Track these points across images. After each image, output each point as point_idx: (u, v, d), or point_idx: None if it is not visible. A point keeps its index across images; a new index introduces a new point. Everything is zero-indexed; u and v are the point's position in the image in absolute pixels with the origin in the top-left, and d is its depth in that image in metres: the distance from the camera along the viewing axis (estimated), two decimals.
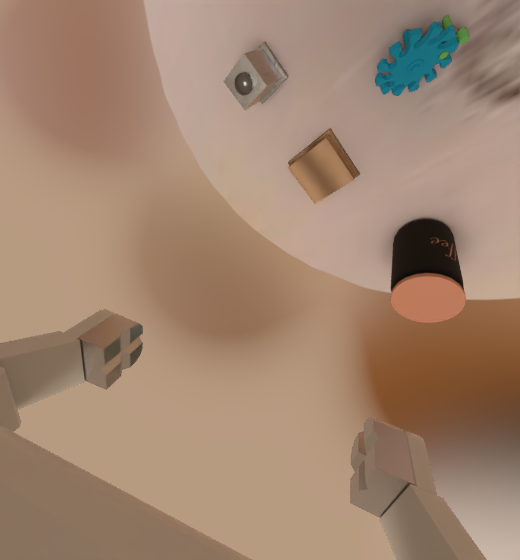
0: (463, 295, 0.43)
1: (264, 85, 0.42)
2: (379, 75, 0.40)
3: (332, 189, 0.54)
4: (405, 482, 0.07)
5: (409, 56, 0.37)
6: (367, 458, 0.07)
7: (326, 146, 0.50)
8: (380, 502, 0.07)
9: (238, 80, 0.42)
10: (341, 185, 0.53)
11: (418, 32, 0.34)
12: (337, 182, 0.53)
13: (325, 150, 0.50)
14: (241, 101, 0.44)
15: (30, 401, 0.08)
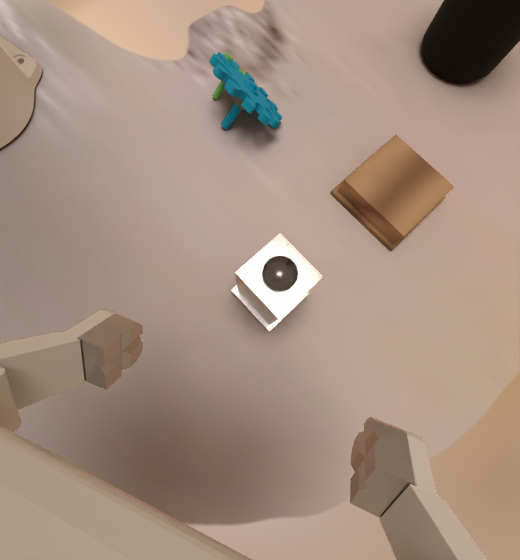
0: None
1: (280, 237, 0.23)
2: (259, 116, 0.31)
3: (420, 161, 0.32)
4: (405, 482, 0.07)
5: (240, 83, 0.30)
6: (367, 459, 0.07)
7: (355, 177, 0.32)
8: (380, 502, 0.07)
9: (274, 281, 0.22)
10: (410, 150, 0.33)
11: (216, 66, 0.29)
12: (406, 156, 0.33)
13: (362, 178, 0.32)
14: (308, 283, 0.23)
15: (29, 401, 0.08)
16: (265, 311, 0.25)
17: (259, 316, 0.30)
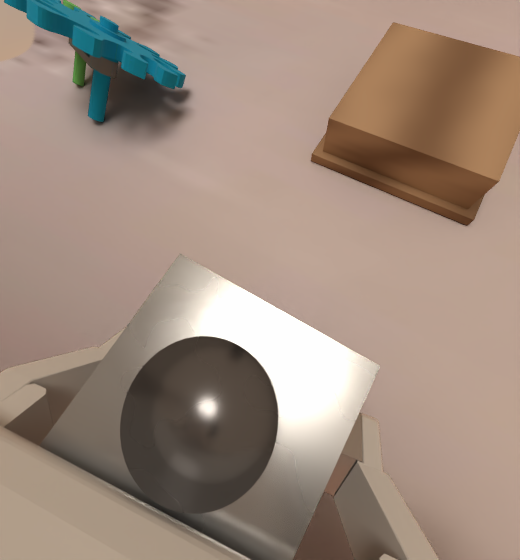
0: None
1: (181, 266, 0.07)
2: (122, 61, 0.16)
3: (458, 46, 0.17)
4: (355, 460, 0.07)
5: (73, 17, 0.16)
6: None
7: (349, 108, 0.16)
8: (333, 480, 0.08)
9: (181, 470, 0.05)
10: (430, 35, 0.17)
11: None
12: (429, 46, 0.17)
13: (363, 106, 0.16)
14: (334, 412, 0.05)
15: None
16: None
17: None
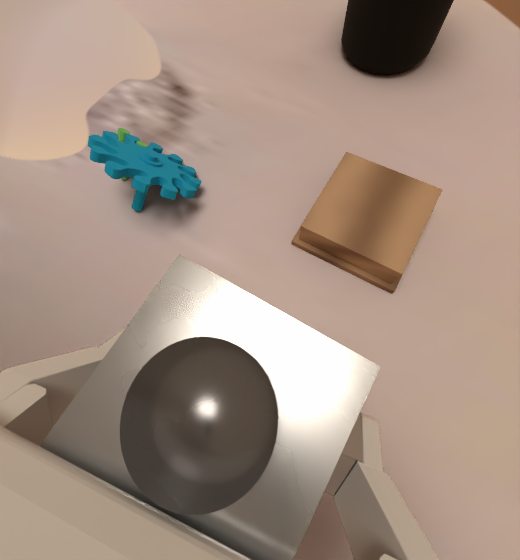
0: None
1: (181, 267, 0.07)
2: (161, 191, 0.24)
3: (387, 173, 0.25)
4: (355, 460, 0.07)
5: (130, 159, 0.24)
6: None
7: (314, 218, 0.24)
8: (333, 481, 0.08)
9: (181, 471, 0.05)
10: (370, 163, 0.26)
11: (91, 149, 0.23)
12: (368, 172, 0.25)
13: (323, 217, 0.24)
14: (334, 413, 0.05)
15: None
16: None
17: None
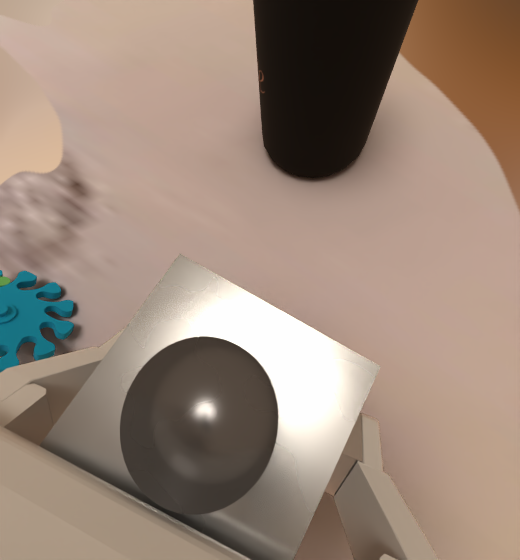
0: None
1: (181, 266, 0.07)
2: None
3: None
4: (355, 460, 0.07)
5: None
6: None
7: None
8: (333, 480, 0.08)
9: (181, 471, 0.05)
10: None
11: None
12: None
13: None
14: (334, 413, 0.05)
15: None
16: None
17: None
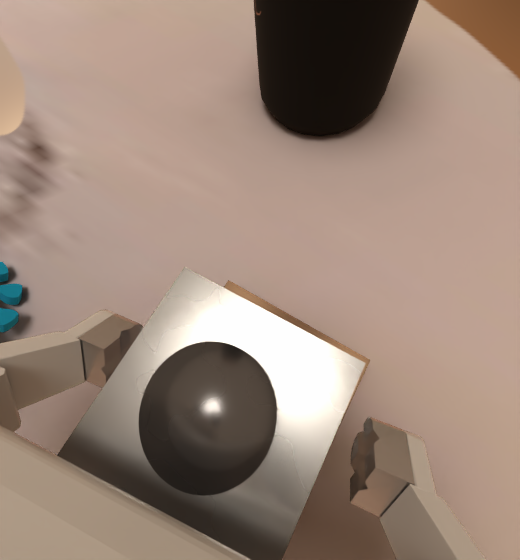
0: None
1: (186, 278, 0.07)
2: None
3: None
4: (405, 482, 0.07)
5: None
6: (367, 458, 0.07)
7: None
8: (380, 502, 0.07)
9: (193, 459, 0.05)
10: (261, 304, 0.16)
11: None
12: None
13: None
14: (326, 405, 0.06)
15: (30, 400, 0.08)
16: None
17: None
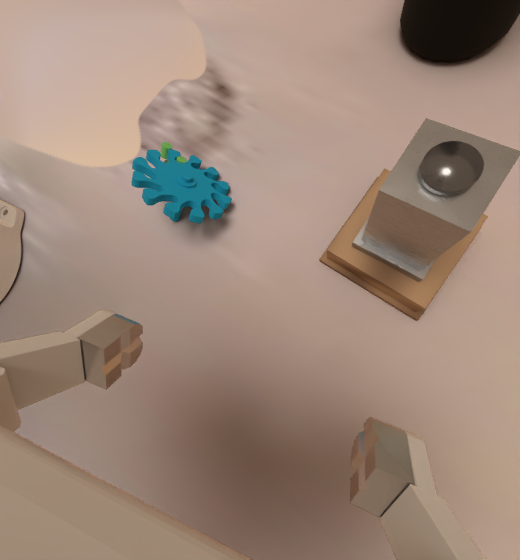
0: None
1: (427, 123, 0.16)
2: (189, 216, 0.27)
3: None
4: (405, 482, 0.07)
5: (166, 183, 0.27)
6: (367, 459, 0.07)
7: (341, 243, 0.25)
8: (380, 502, 0.07)
9: (448, 179, 0.14)
10: None
11: (133, 175, 0.26)
12: None
13: (350, 242, 0.24)
14: (501, 168, 0.14)
15: (29, 400, 0.08)
16: (428, 240, 0.17)
17: (402, 264, 0.22)
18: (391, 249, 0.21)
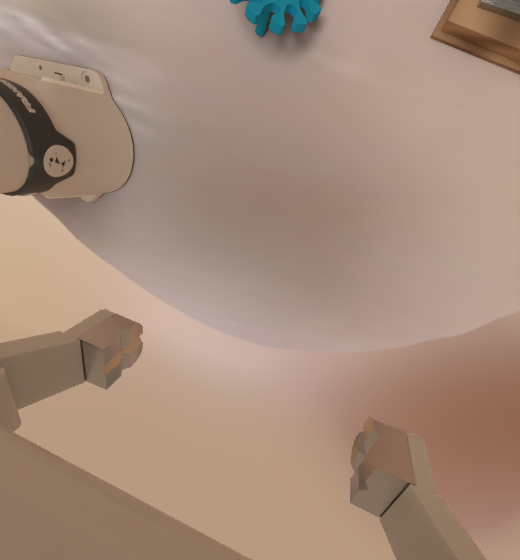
0: None
1: None
2: (292, 26, 0.26)
3: None
4: (405, 482, 0.07)
5: None
6: (367, 458, 0.07)
7: (465, 6, 0.24)
8: (380, 502, 0.07)
9: None
10: None
11: None
12: None
13: (476, 1, 0.23)
14: None
15: (29, 400, 0.08)
16: None
17: None
18: None
